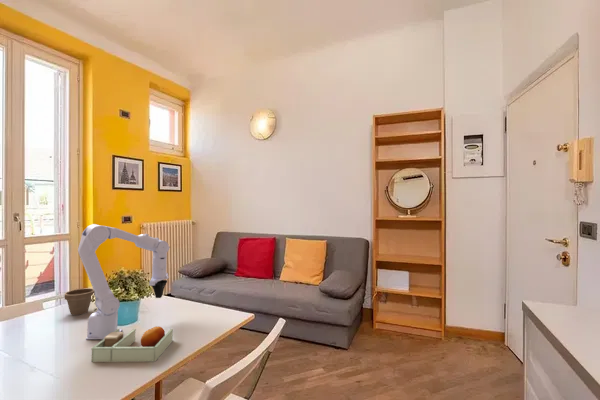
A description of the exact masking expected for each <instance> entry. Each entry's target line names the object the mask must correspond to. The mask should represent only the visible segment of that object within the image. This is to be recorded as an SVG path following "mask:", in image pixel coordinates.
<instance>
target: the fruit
mask: <svg viewBox="0 0 600 400" xmlns="http://www.w3.org/2000/svg"><path fill="white" fill-rule="evenodd" d="M165 335H166V331H165V329H164V328H163V327H161V326H154V327H152V328H149V329H148V330H146V331H145V332H143V334H142V336H141V338H140V346H141V347H155V345H156V344H157V343H158V342H159V341H160V340H161V339H162V338H163V337H164V336H165Z"/></svg>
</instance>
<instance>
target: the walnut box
mask: <svg viewBox="0 0 600 400" xmlns="http://www.w3.org/2000/svg"><path fill="white" fill-rule="evenodd" d="M123 337H124V332H123V331H121V332H111V333H110V334H108V335H107V336H106V337H104V339H105V346H104V347H112V346H113V345H114V344H116V343H117V342H118V341H119V340H121V339H122V338H123Z"/></svg>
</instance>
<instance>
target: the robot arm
mask: <svg viewBox="0 0 600 400" xmlns="http://www.w3.org/2000/svg"><path fill="white" fill-rule="evenodd" d="M116 238H117V239H120V240H124V241H128V242H131V243H134V244H135V247H137V248H141V249H143V250H147V251H150V252H152V273H151V274H152V275H151V279H150V280H149V281H148V282H149V285H148V286H151V287H152V289H153V292H154V297H155V299H161V298H163V293H164V289H165V287H166V284H167V283H168V280H167V279H169V278H170V276H169V273H168V272H167V268H168V267H167V266H168V265H167V264H168V263H167V262H168V261H167V259H168V254H167V253H168V252H169V250H170V246H169V243H168V242H167V241H166V240H162V239H160V238H159V237H152V236H150V235H149V233H141V234H138V235H136V234H134V233H132V232H128V231H126V230H123V229H120V228H117V227H111V226H106V225H99V224H96V223H92V224H90V225H87V227H86V228H85V229H84V230H83V231H82V233H81V238H80V242H79V245H78V246H77V247H78V248H77V252H78V255H79V258H80V260H81V263H82V265H83V268H84V270H85V273H86V274H87V277H88V280H89V282H90V284H91V287H92V289H94V292H95V293H94V297H95V301H94V305H95V307H96V308H97V310H96V311H95V312H93V313H90V315H89V317H88V320H87V329H86V331H87V332H86V333H87V334H86V335H87V336H86V337H85V340H103V339H104V337H106V336H107V335H108V334H110V333H111V332H114V331H115V330H117V329H118V321H119V320H118V317H119V316H118V314H119V308H120V306H121V304H120V302H121V301H120V300H119V298H117V297H115V295H114V293H113V291H112V290H111V289H110V286H109V283H108V281H107V278H106V276H105V274H104V271H103V269H102V267H101V263H100V261H99V258H98V257H97V253H96V251H97V249H98V248H99V246H101V244H103V243H105V242H106V241H107V239H109V240H112V239H116ZM119 329H120V328H119ZM119 332H123V329H122V328H121V329H120V331H119Z"/></svg>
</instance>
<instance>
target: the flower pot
mask: <svg viewBox="0 0 600 400" xmlns="http://www.w3.org/2000/svg"><path fill="white" fill-rule="evenodd" d="M93 293H94V294H95V292H94V289H93V288H89V287H88V288H78V289H73V290H69V291H67V292H64V300H66V302H67V305H68V310H69V314H70V315H73V316H77V315H78V316H79V315H83V314H86V313H88V311H89V309H90V305H91V302H92V299H91V295H92V294H93Z"/></svg>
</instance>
